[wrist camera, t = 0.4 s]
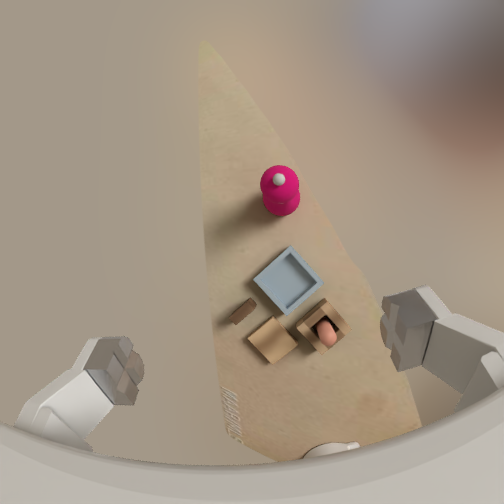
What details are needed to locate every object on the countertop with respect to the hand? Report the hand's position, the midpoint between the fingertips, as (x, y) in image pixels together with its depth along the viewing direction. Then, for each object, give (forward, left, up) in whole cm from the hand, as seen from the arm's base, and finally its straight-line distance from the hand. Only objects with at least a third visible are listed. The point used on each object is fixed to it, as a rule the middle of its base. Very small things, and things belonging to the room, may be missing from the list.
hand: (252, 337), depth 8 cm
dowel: (-16, +3, -51) cm, 54 cm away
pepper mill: (+9, -8, -52) cm, 53 cm away
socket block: (-16, +3, -51) cm, 54 cm away
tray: (-4, +2, -51) cm, 52 cm away
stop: (-2, +13, -51) cm, 53 cm away
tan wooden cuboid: (-11, +13, -52) cm, 55 cm away
